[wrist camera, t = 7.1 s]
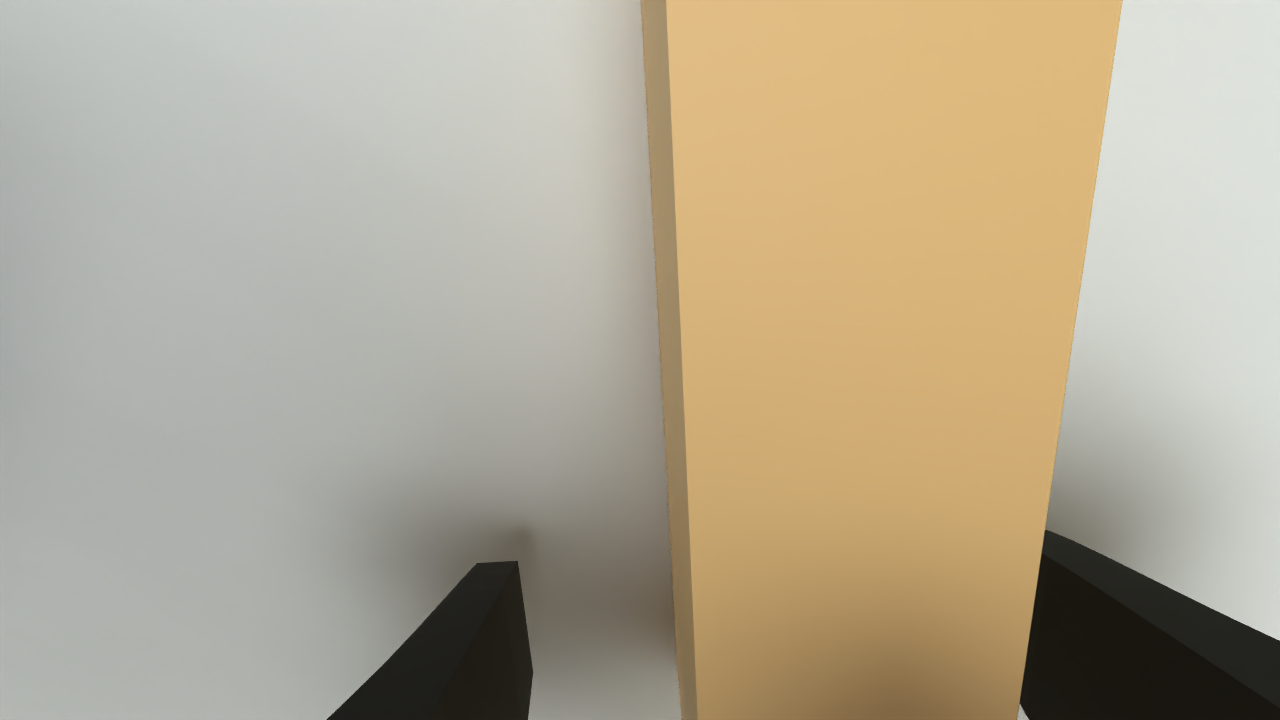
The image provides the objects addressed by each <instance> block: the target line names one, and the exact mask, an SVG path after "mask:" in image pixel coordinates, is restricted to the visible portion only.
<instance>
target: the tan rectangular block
mask: <svg viewBox="0 0 1280 720" xmlns="http://www.w3.org/2000/svg"><path fill="white" fill-rule="evenodd" d="M1122 1H1123V0H641V13H642V31H643V49H644V67H645V86H646V104H647V122H648V141H649V159H650V177H651V196H652V214H653V232H654V251H655V269H656V287H657V306H658V324H659V342H660V361H661V379H662V397H663V415H664V434H665V452H666V470H667V489H668V507H669V525H670V544H671V562H672V580H673V599H674V617H675V635H676V654H677V670H678V681H679V693H680V705H681V716H682V720H1017V716H1018V709H1019V702H1020V696H1021V689H1022V682H1023V675H1024V668H1025V662H1026V655H1027V648H1028V641H1029V634H1030V628H1031V621H1032V614H1033V607H1034V600H1035V593H1036V587H1037V580H1038V573H1039V566H1040V559H1041V553H1042V546H1043V539H1044V532H1045V525H1046V519H1047V512H1048V505H1049V498H1050V491H1051V484H1052V478H1053V471H1054V464H1055V457H1056V450H1057V444H1058V437H1059V430H1060V423H1061V416H1062V409H1063V403H1064V396H1065V389H1066V382H1067V375H1068V369H1069V362H1070V355H1071V348H1072V341H1073V335H1074V328H1075V321H1076V314H1077V307H1078V300H1079V294H1080V287H1081V280H1082V273H1083V266H1084V260H1085V253H1086V246H1087V239H1088V232H1089V225H1090V219H1091V212H1092V205H1093V198H1094V191H1095V185H1096V178H1097V171H1098V164H1099V157H1100V151H1101V144H1102V137H1103V130H1104V123H1105V116H1106V110H1107V103H1108V96H1109V89H1110V82H1111V76H1112V69H1113V62H1114V55H1115V48H1116V41H1117V35H1118V28H1119V21H1120V14H1121V7H1122Z"/></svg>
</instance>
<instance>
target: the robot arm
mask: <svg viewBox="0 0 1280 720" xmlns="http://www.w3.org/2000/svg"><path fill="white" fill-rule="evenodd" d="M532 677H533V668H532V661H531V654H530V647H529V640H528V632H527V625H526V618H525V611H524V603H523V596H522V589H521V582H520V574H519V567H518V561H508V562H491V563H477V564H476V565H475V566H474V567H473V568H472V569H471V570H470V571H469V572H468V573H467V574H466V576H465V577H464V578H463V579H462V580H461V581H460V582H459V583H458V584H457V585H456V586H455V588H454V589H453V590H452V591H451V592H450V593H449V594H448V595H447V596H446V598H445V599H444V600H443V601H442V602H441V603H440V604H439V605H438V606H437V608H436V609H435V610H434V611H433V612H432V613H431V614H430V615H429V616H428V617H427V619H426V620H425V621H424V622H423V623H422V624H421V625H420V626H419V627H418V628H417V630H416V631H415V632H414V633H413V634H412V635H411V636H410V637H409V638H408V639H407V640H406V641H405V642H404V643H403V644H402V645H401V646H400V648H399V649H398V650H397V651H396V652H395V653H394V654H393V655H392V656H391V657H390V658H389V659H388V660H387V661H386V662H385V663H384V664H383V665H382V666H381V667H380V668H379V669H378V670H377V671H376V672H375V673H374V674H373V675H372V676H371V677H370V678H369V679H368V680H367V681H366V682H365V683H364V684H363V685H362V686H361V687H360V688H359V689H358V690H357V691H356V692H355V693H354V694H353V695H352V696H351V697H350V698H349V699H348V700H347V701H346V702H345V703H343V704H342V705H341V706H340V707H339V708H338V709H337V710H336V711H335V712H334V713H333V714H332V715H331V716H330V717H329V718H328V719H327V720H528V713H529V705H530V696H531V687H532ZM1019 703H1020V705H1021V706H1022V708H1023V710H1024V712H1025V714H1026V715H1027V717H1028V718H1029V720H1280V641H1279V640H1277V639H1275V638H1272V637H1270V636H1268V635H1266V634H1264V633H1262V632H1260V631H1257V630H1255V629H1253V628H1251V627H1249V626H1247V625H1245V624H1243V623H1240V622H1238V621H1236V620H1234V619H1232V618H1230V617H1228V616H1226V615H1224V614H1222V613H1219V612H1217V611H1215V610H1213V609H1211V608H1209V607H1207V606H1205V605H1203V604H1201V603H1199V602H1197V601H1195V600H1193V599H1191V598H1189V597H1187V596H1185V595H1183V594H1181V593H1178V592H1176V591H1174V590H1172V589H1170V588H1168V587H1166V586H1164V585H1162V584H1160V583H1158V582H1156V581H1154V580H1152V579H1150V578H1148V577H1146V576H1144V575H1142V574H1140V573H1138V572H1136V571H1134V570H1132V569H1130V568H1128V567H1126V566H1124V565H1122V564H1120V563H1118V562H1116V561H1114V560H1112V559H1110V558H1108V557H1106V556H1104V555H1102V554H1100V553H1098V552H1095V551H1093V550H1091V549H1089V548H1087V547H1085V546H1083V545H1081V544H1079V543H1076V542H1074V541H1072V540H1070V539H1067V538H1065V537H1063V536H1060V535H1058V534H1055V533H1053V532H1051V531H1048V530H1045V532H1044V539H1043V546H1042V553H1041V559H1040V566H1039V573H1038V580H1037V587H1036V593H1035V600H1034V607H1033V614H1032V621H1031V628H1030V634H1029V641H1028V648H1027V655H1026V662H1025V668H1024V675H1023V682H1022V689H1021V696H1020V702H1019Z"/></svg>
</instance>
